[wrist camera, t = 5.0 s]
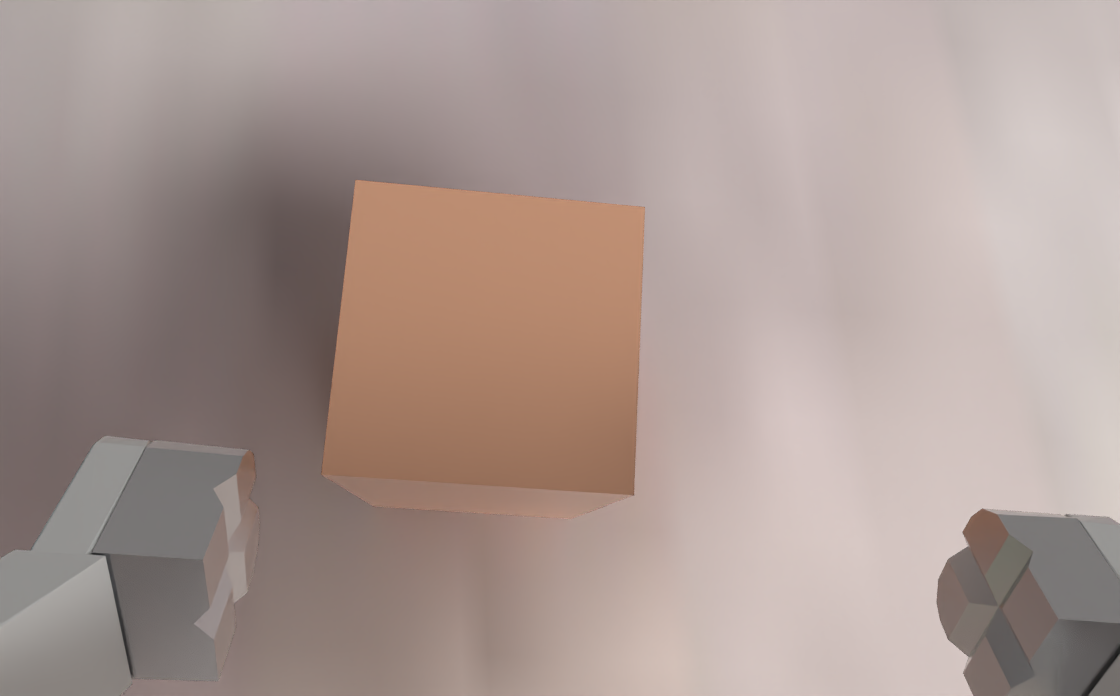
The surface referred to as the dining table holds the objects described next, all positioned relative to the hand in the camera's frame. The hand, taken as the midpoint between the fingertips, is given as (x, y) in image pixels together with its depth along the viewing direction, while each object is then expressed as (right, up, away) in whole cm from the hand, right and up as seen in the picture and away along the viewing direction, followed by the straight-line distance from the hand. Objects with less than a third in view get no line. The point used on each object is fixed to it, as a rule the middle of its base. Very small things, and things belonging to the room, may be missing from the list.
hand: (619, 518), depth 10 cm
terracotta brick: (-3, 0, +11) cm, 11 cm away
